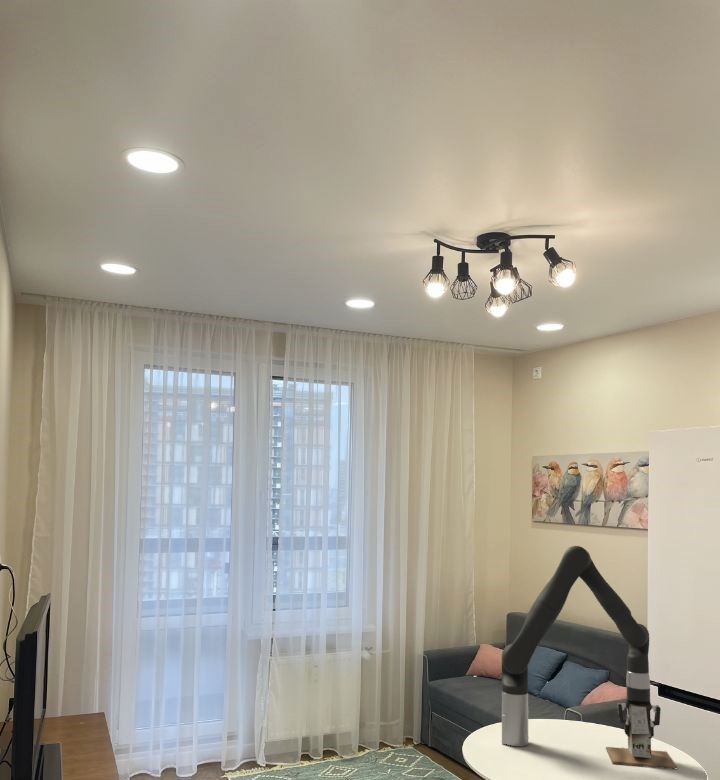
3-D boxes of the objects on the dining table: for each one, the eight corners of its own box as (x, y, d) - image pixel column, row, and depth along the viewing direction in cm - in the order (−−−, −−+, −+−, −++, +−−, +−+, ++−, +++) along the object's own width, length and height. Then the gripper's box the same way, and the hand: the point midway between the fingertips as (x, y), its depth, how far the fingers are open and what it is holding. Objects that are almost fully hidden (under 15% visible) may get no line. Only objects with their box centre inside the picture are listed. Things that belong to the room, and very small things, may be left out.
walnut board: (612, 763, 247) (612, 761, 247) (605, 749, 262) (605, 746, 262) (677, 769, 244) (676, 766, 244) (666, 754, 258) (666, 751, 258)
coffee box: (652, 758, 248) (650, 707, 250) (631, 756, 249) (630, 705, 251) (647, 749, 257) (646, 700, 259) (627, 747, 258) (626, 698, 260)
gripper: (617, 686, 254) (618, 738, 251) (662, 689, 251) (664, 742, 249) (614, 681, 261) (615, 731, 259) (658, 684, 258) (659, 735, 256)
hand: (639, 736), depth 254 cm, fingers closed on coffee box, 6 cm apart
